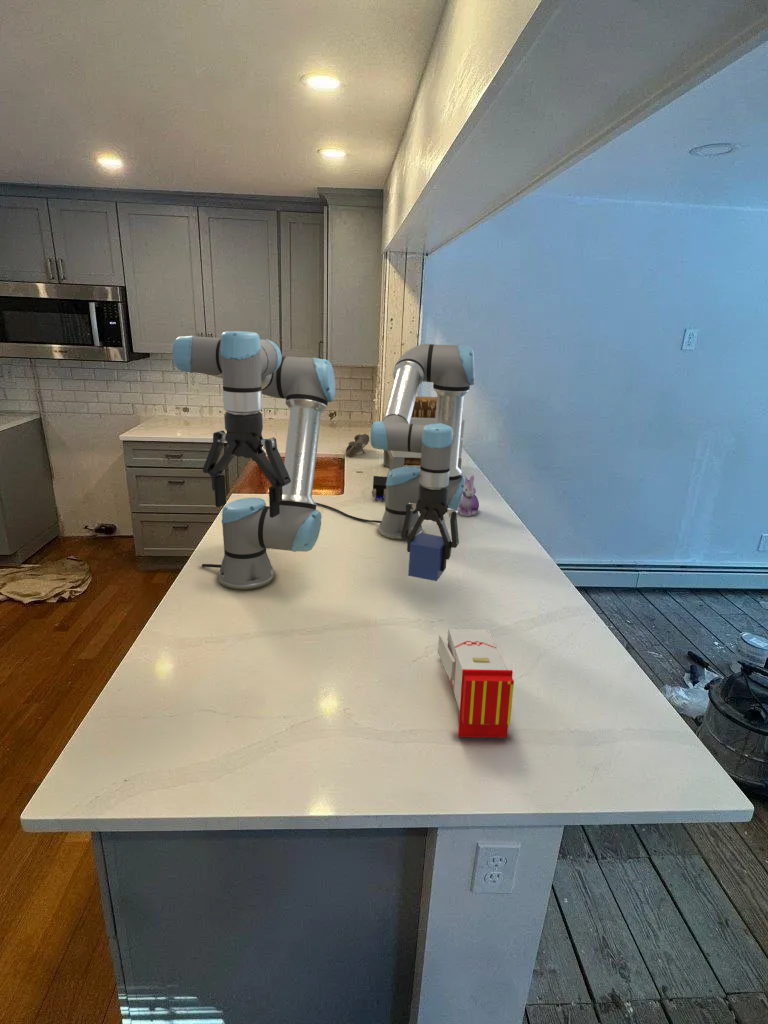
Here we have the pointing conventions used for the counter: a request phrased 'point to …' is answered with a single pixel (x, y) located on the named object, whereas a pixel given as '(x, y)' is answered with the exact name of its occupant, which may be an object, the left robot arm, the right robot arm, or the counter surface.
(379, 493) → the figurine character
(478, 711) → the toy
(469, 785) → the counter surface
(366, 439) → the fossil
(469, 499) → the figurine
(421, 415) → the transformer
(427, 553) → the block
